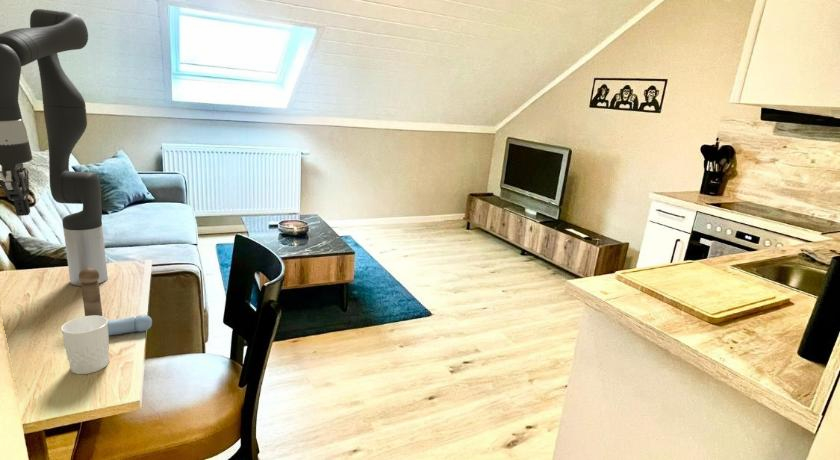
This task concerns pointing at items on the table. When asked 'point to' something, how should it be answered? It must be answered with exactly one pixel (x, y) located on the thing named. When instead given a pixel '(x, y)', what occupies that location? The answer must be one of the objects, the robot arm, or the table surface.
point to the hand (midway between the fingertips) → (24, 214)
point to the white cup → (86, 343)
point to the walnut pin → (90, 291)
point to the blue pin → (129, 325)
